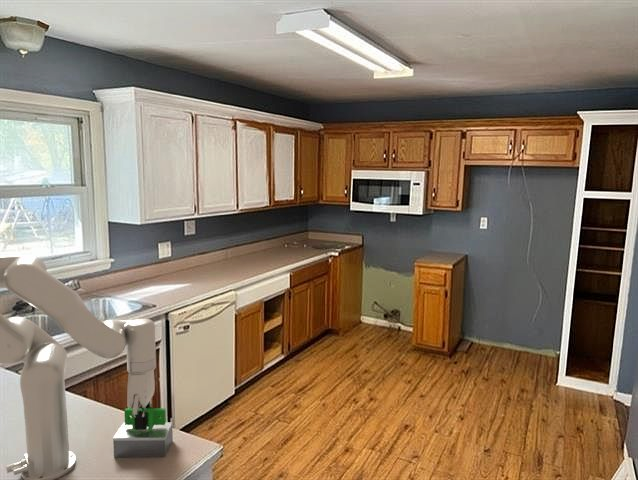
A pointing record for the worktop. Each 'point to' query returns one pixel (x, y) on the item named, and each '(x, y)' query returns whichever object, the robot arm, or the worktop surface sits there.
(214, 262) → the worktop surface
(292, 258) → the worktop surface
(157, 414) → the pipe clamp
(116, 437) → the gray rectangular block
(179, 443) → the worktop surface
